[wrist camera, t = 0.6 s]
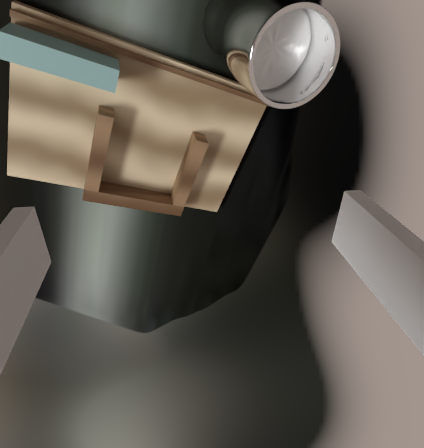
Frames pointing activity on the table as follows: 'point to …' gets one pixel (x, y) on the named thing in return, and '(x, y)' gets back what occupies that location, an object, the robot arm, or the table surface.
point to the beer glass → (275, 47)
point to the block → (58, 57)
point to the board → (128, 125)
